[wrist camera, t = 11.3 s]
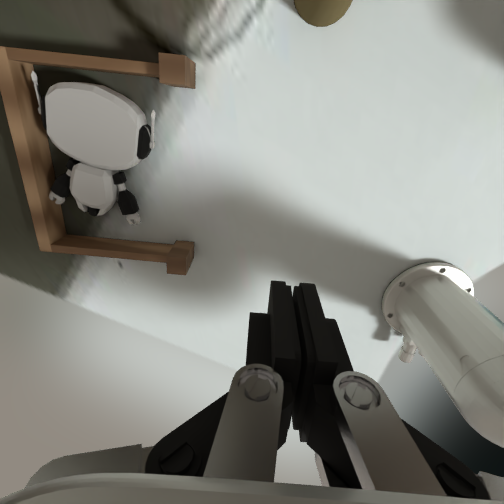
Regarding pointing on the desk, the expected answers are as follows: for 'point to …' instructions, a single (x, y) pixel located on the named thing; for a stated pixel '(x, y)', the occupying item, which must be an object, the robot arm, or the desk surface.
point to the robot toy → (95, 144)
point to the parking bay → (39, 157)
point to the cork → (322, 11)
